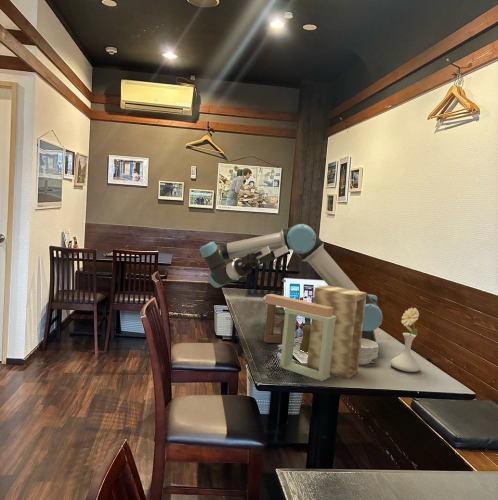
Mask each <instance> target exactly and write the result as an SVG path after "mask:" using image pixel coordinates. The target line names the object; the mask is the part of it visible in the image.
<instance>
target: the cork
mask: <svg viewBox="0 0 498 500" xmlns="http://www.w3.org/2000/svg"><path fill="white" fill-rule="evenodd" d="M310 330H311V324H304V325H303V326H302V332H303V333H302V337H301V342H300V346H299V349H300V350H302V351H304V352H308V349H309V340H310ZM300 350H299V351H300Z"/></svg>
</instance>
